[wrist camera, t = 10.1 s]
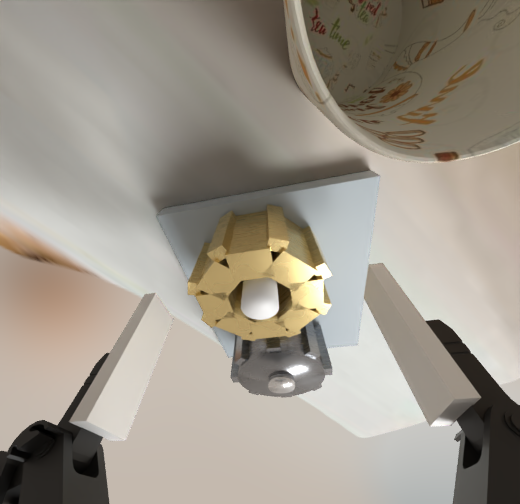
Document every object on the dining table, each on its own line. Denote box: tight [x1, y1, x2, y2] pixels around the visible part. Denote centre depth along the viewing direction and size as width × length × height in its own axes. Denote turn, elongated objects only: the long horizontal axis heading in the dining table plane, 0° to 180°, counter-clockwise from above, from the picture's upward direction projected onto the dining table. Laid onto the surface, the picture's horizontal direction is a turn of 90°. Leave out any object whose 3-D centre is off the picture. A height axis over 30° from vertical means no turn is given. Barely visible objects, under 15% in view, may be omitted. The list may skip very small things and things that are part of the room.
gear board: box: [156, 170, 380, 357], centre depth 19 cm, size 20×16×7 cm
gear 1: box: [188, 204, 331, 341], centre depth 16 cm, size 9×9×5 cm
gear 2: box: [231, 321, 332, 397], centre depth 21 cm, size 9×9×6 cm
